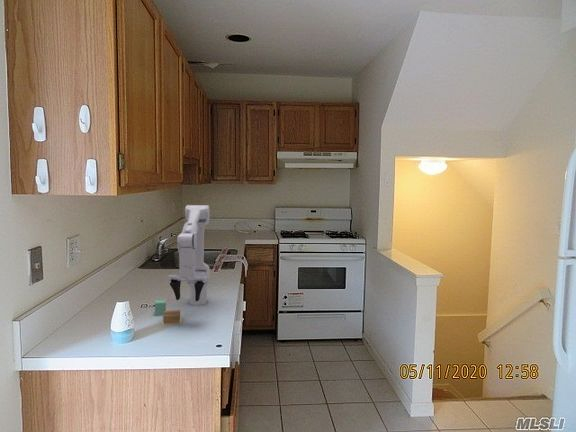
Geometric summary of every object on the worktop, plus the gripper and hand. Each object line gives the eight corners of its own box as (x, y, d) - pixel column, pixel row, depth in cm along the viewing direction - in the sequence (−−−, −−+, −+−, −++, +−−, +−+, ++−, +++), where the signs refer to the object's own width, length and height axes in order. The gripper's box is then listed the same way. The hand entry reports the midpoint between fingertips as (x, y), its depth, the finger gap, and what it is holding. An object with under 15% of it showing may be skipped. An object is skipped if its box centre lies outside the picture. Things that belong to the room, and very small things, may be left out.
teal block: (155, 312, 162) (155, 300, 161) (166, 311, 163) (165, 299, 162) (154, 315, 158) (154, 303, 157) (165, 314, 159) (165, 302, 158)
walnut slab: (164, 318, 155) (164, 310, 155) (180, 317, 156) (180, 309, 156) (163, 323, 149) (163, 316, 149) (179, 322, 150) (179, 315, 150)
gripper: (164, 266, 145) (165, 302, 147) (202, 268, 143) (202, 304, 145) (172, 262, 152) (172, 296, 154) (208, 263, 150) (208, 298, 152)
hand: (187, 299), depth 150 cm, fingers open, 7 cm apart
